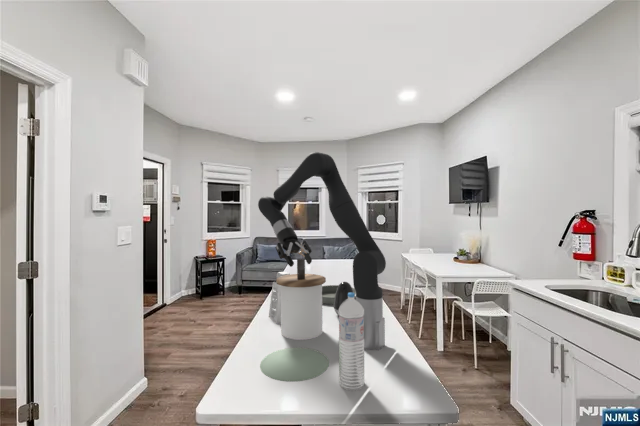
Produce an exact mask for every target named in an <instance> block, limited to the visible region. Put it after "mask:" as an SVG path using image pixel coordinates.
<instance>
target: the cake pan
mask: <svg viewBox="0 0 640 426" xmlns="http://www.w3.org/2000/svg"><path fill="white" fill-rule="evenodd" d="M338 286H339V284H338V285H337V284H333V285H331V284H329V285H322V304H324V305H325V304H326V305H334V299H335V294H336V291H337V288H338ZM352 289H353V292H354V293H355V295H356V291H355V289H354V287H352Z"/></svg>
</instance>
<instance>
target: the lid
mask: <svg viewBox="0 0 640 426" xmlns="http://www.w3.org/2000/svg"><path fill="white" fill-rule="evenodd" d="M326 281H327V280H326V277H325V276H323V275H321V274H313V273H306V260H305V258H298V259H296V273H294V274H291V273H290V275H285V276H281V277H278V278H277V277H276V281H275V282H276V283H277V284H279V285H281V286H286V287H312V286H318V285H321V284H322V285H324V284H325V283H326Z"/></svg>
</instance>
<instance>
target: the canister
mask: <svg viewBox="0 0 640 426" xmlns="http://www.w3.org/2000/svg"><path fill="white" fill-rule="evenodd" d="M322 286H323V284H321V285H318V286H312V287H286V286H281V315H280V317H281V323H280V334H281V335H282V336H283V337H284V338H286V339H288V340H289V339H290V340H295V341H303V340H304V341H305V340H310V339H315V338H317V337H320V336H321V335H322V334H323V303H322Z"/></svg>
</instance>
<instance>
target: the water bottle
mask: <svg viewBox="0 0 640 426" xmlns="http://www.w3.org/2000/svg"><path fill="white" fill-rule="evenodd" d="M354 297H355V299H354ZM338 326H339V327H338V383H339V386H340V387H341V388H342V389H344V390H346V391H351V392H353V391H354V392H356V391H360V390H361V389H363V388H364V387H365V349H364V308H363V306H362V305H361V304H360V303H359V302H358V301H357V300H356V294H355V293H352V292H350V293H348V299H346V300H345V301H344V302H343V303H342V304H341V305H340V307H339V316H338Z"/></svg>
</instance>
